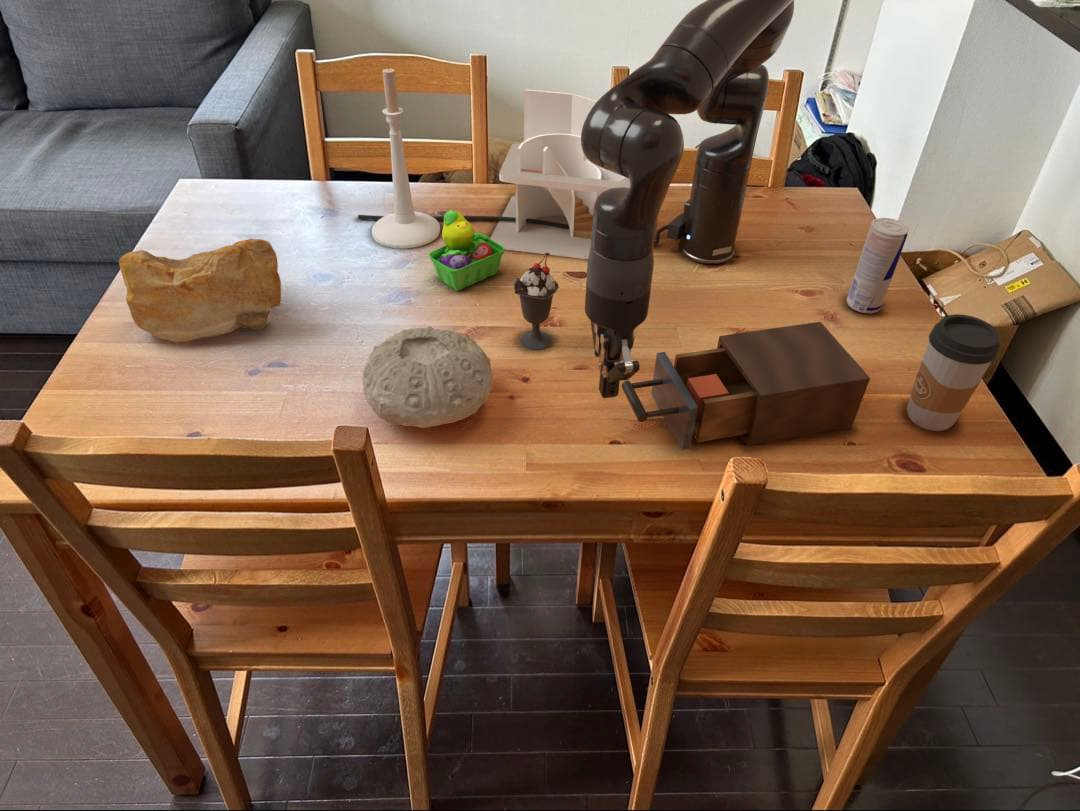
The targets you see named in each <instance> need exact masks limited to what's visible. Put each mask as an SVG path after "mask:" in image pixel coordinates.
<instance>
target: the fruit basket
mask: <svg viewBox="0 0 1080 811" xmlns="http://www.w3.org/2000/svg"><path fill="white" fill-rule="evenodd" d="M443 216H444V220H443V227H442V229H441V230H442V231H441V237H442V241H443V243H444V244H445V245H444V246H441V247H439V248H437V249H435V250H432V251H430V252H429V253H428V257H429V259H430V261H431V262H432V263H433V267H434V270H435V272H436V274H437V276H438V279H439V280H440V281H442V282H443V283H444V284H446V285H447V286H448V287H450V288H451V289H453V290H454V291H456V292H459V291H460V290H463V289H465V288H466V287H471V286H472V285H475V284H476V283H478V282H481V281H483V280H486V279H487V278H488V277H493V276H495V275H496V274H498V270H499V268H500V264H501V261H502V257H503V255H504V253H505V250H506V249H505V248H504V247H503V246H501V245H500V244H498V243H496V242H495V241H493V240H492V239H490V238H491V237H488V236H487V235H485V234H483V233H481V232H477V233H475V229H474V226H473V225H472V223H470V221H469V220H466V219H465V218H464V216H465V215H463V213H461V212H460V211H459V212H458V211H456V210H454V209H449V210H448V211H446V212H445V213H444V215H443Z"/></svg>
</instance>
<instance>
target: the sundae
mask: <svg viewBox="0 0 1080 811" xmlns="http://www.w3.org/2000/svg"><path fill="white" fill-rule="evenodd" d="M549 254H550V253H545V254H544V256H543V258H542V259H541V260H540V261H539V262H538V263H537V262H535V263H533V265H532V267H529V268H528V269H526V270H525V272H524V273H523V274H522V276H520V277H518V276H515V279H516V280H515V281H514V283H513V290H514V294H515V295H518V297H519V300H520V301H519V302H520V307H521V312H522V316H523V318H524V320H525V321H527V322H528V323H529V324H531V330H529V331H526V332H524V333H522V335H521V336H520V338H519V342H520V345H521V346H523V347H524V348H526V349H528V350H532V351H540V350H543V349H546V348H547V347H549V346H550V345H551V343H552V337H551V335H550V334H549V333H547V332H545V331H541V329H540V325H541V324H543V323H544V322H545V321H546V320H548V318H549V316H550V313H551V308H552V302H553V298H554V295H555V294H556V292H557V291H558V289H559V287H560V286H559V283H558V282H557V281H556V280H555V278H554V276H553V275H552V274H551V273H550V272H551V269H550V267H548V266H547V259H548V256H550V255H549ZM544 259H545V262H544V266H542V265H541V263H542V262H543V261H544ZM541 266H542V267H541Z"/></svg>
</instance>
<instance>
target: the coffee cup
mask: <svg viewBox="0 0 1080 811" xmlns="http://www.w3.org/2000/svg"><path fill="white" fill-rule="evenodd" d="M1000 339H1001V336H1000V332H998V330H997V329H996V328H995V327H994V326H993V324H990V323H989V322H987V321H985V320H983V319H981V318H979V317H975V316H972V315H968V314H967V315H966V314H949V315H946V316H944V317H942V318H940V320H939V322H937V323H936V324H934V326H933V327H932V330H931V331H930V333H929V334H928V343H927V346H926V347H925V348H926V349H925V352H924V354H923V358H922V360H921V362H920V365H919V368H918V370H917V374H916V377H915V380H914V383H913V386H912V388H911V389H912V390H911V393H910V397H909V400H908V402H907V405H906V412H907V415H908V418H909V420H911V422H913V423H914V424H915V425H916V426H918V427H920V428H921V429H924V430H926V431H927V430H928V431H933V432H942V431H945V430H948V429H949V428H951V427H952V426H954V424H955V423H956V421H957V420H958V418H959V416H960V415H961V413H962V412H963V410H964V409H965V408H966V407H967V405H968V403H969V401H970V399H971V398H972V397H973V395H974V392H975V391H976V390H977V388H978V386H979V385H980V383H981V381H982V379H983V377H984V375H985V374H986V372H987V371H988V368H989V367H990V365H991V363H992V362H993V361H994V360H995V359H997V357H998V352H999V350H1000V347H1001V344H1000Z"/></svg>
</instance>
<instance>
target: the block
mask: <svg viewBox="0 0 1080 811" xmlns="http://www.w3.org/2000/svg"><path fill="white" fill-rule="evenodd" d="M686 388H687V390H688V391H689V393H690V395H691V396H692V398H693V400H694V401H695V403H696V405H697V406H698V411H697V416H696V421H698V420H699V419H700V414H701V409H702V404H703V400H704V399H710V398H717V397H723V396H728V395H729V392H728V391H727V389H726V388H725V386H724V385H723V383H722V382H721V380H720V379H719V377H718V376H717V374H713V375H707V376H700V377H694V378H688V381H687V386H686Z"/></svg>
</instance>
